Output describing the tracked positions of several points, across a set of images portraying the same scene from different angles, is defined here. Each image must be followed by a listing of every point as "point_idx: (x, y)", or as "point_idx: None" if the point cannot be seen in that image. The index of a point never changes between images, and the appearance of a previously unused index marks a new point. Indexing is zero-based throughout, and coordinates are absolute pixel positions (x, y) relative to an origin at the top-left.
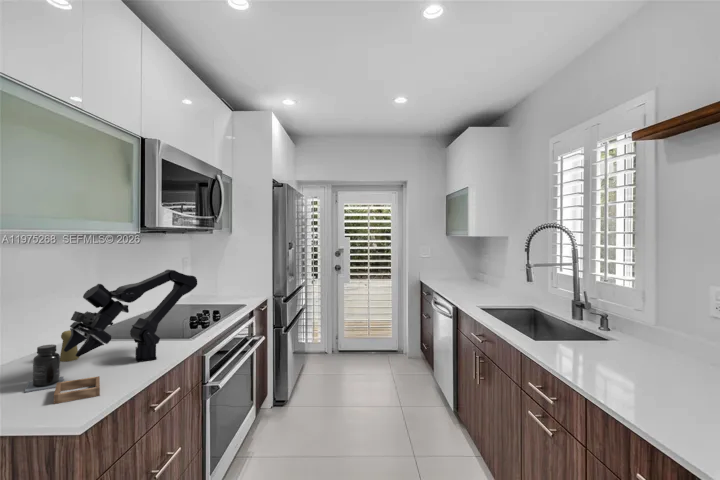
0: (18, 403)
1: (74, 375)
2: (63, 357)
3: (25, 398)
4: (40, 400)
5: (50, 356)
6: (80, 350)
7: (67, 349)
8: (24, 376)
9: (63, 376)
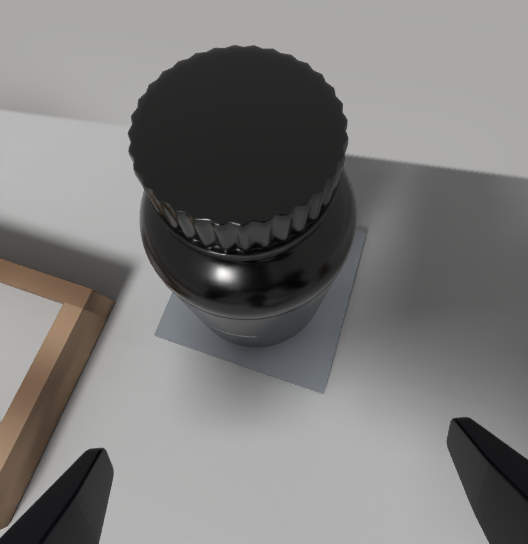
0: (97, 155)
1: (325, 463)
2: None
3: (135, 183)
4: (50, 219)
5: (147, 203)
6: (21, 522)
7: (463, 465)
8: (515, 244)
9: (321, 392)
